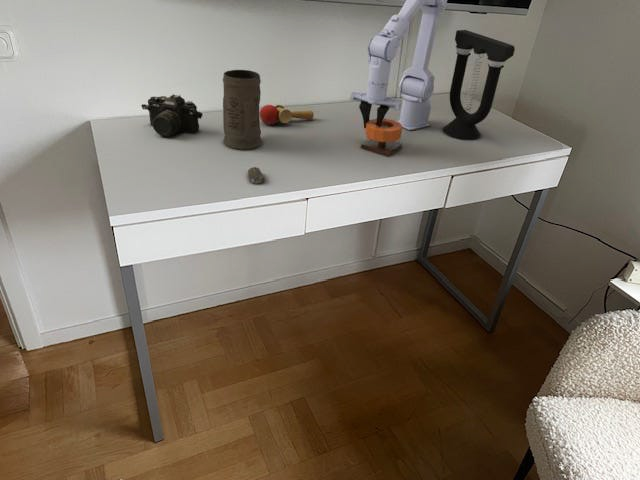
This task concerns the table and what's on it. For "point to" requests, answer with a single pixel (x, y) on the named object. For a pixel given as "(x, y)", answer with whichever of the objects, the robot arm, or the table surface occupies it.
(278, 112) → the kendama
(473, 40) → the spring support
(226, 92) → the beer stein
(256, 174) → the block
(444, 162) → the table surface
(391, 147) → the stand
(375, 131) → the ring
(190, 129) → the film camera
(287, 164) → the table surface
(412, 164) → the table surface
